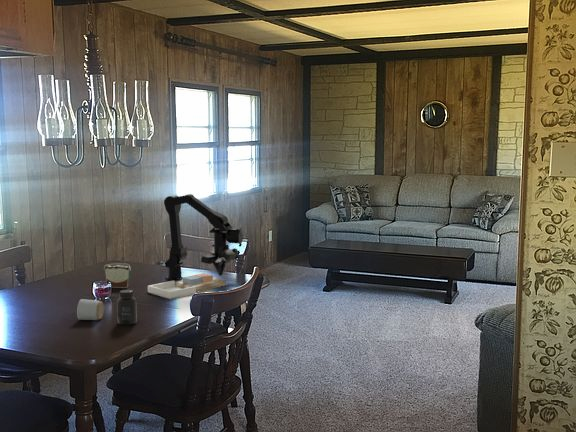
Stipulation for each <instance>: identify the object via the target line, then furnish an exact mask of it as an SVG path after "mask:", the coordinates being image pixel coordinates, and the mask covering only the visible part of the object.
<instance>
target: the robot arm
mask: <svg viewBox="0 0 576 432" xmlns="http://www.w3.org/2000/svg"><path fill="white" fill-rule="evenodd" d="M163 203H164V204H163V205H164V208H165V211H166V212H167V215H168V220H169V222H168V223H169V231H170V240H171V246H170V249H169V257H168V259H167V260H166V261H165V262H164V265H165V268H167V276H166V277H164V278H165V279H166V280H169V281H179V280H183V278H182V277H183V276H182V266H181V265H183V264H184V261H185V260H186V259H187V256H188V253H187V246H184V245H183V243H182V242H183V241H182V234H181V231H182V230H181V222H180V212H181V209H182V205H184V204H187V205H189V206H190V207H191V208H193V209H194V210H196V211H197V212H198V213H199V214H201V215H202V216H203V217H205V218H206V219H207V220H208V222H209V224H211V226H212V227H211V229H210V230H209V233H210V234H213V244H212V245H211V247H213V252H212V254H211V255H210V254H209V255H208V254H207V255H202V256H201V257H200V260H201V261H200V263H204V264H209V265H210V264H211V265H213V266H214V267H215V270H216V272H217V274H218V276H219V277H221V276H223V273H224V271H225V267H226V265H227V264H228V263H229V262H231V261H234V260H236V259H239V258H240V254H239V250H238V248H236V247H235V248H232V249H231V248H229V244H237V245H239V244H240V245H241V244H242V243H243V239H244V235H243V231H242V229H241V228H233V227H232V225H231V224H230V222H229V219H228V217H227V216H226V215H225V214H223V213H220V212H218V211H215V210H213V209H212V208H210V207H209V206H207V205H206V204H205V203H204V202H202V201H201V200H200V199H198V198H196V197H195V195H193V194H191V193H189V194H185V195H180V196H179V195H177V194H173V195H168V196H166V197H165V198H164V200H163ZM228 243H229V244H228Z"/></svg>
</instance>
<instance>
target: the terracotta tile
mask: <svg viewBox="0 0 576 432" xmlns="http://www.w3.org/2000/svg"><path fill="white" fill-rule="evenodd" d="M194 276H198V277H202V283H204V282H208V281H213V277H214V275H213V274H209V273H205V272H203V273H198V274H194Z"/></svg>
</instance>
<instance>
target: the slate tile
mask: <svg viewBox="0 0 576 432" xmlns="http://www.w3.org/2000/svg"><path fill="white" fill-rule="evenodd" d="M194 275H195V274H194ZM194 275H188V276H181V277H182V278H183V279H182V280H183V283H185V284H188V285H194V284H199V283H202V277H198V276H194Z"/></svg>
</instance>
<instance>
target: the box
mask: <svg viewBox="0 0 576 432" xmlns="http://www.w3.org/2000/svg"><path fill="white" fill-rule="evenodd" d="M175 282H176V280H169V281H165V282H160V283H155V284H149V285H147V293H148V294H151V295H155V296H159V297H162V298H165V299H167V300H174V299H177V298H181V297H185V296H190V295H195V294H197V292H196V286H193V287H188V288H184V289H183V288H179V287H175ZM194 293H195V294H194Z"/></svg>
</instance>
